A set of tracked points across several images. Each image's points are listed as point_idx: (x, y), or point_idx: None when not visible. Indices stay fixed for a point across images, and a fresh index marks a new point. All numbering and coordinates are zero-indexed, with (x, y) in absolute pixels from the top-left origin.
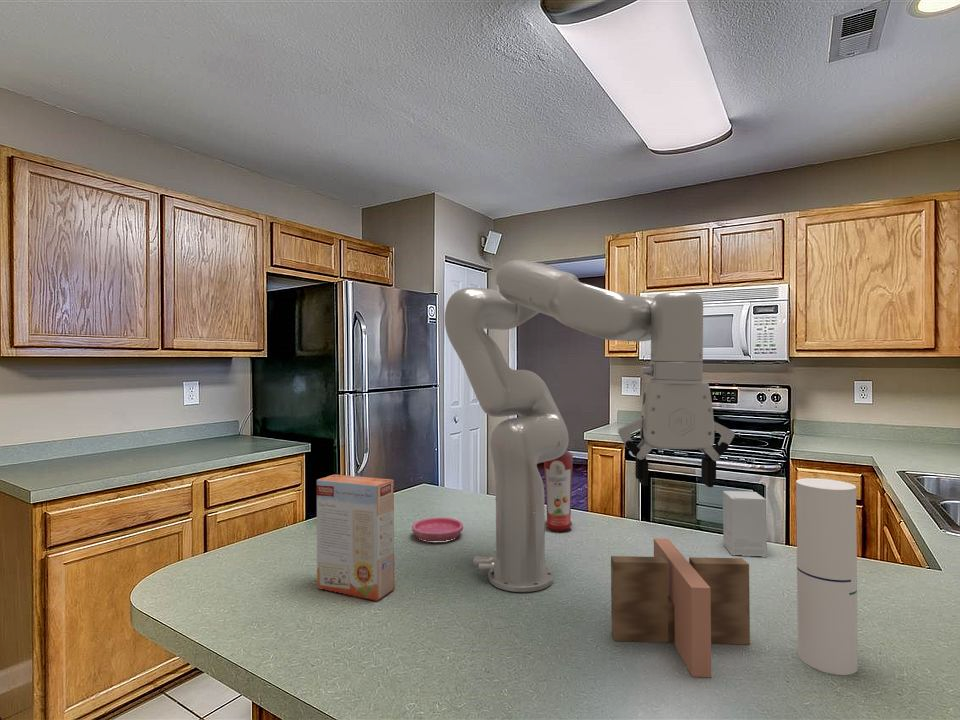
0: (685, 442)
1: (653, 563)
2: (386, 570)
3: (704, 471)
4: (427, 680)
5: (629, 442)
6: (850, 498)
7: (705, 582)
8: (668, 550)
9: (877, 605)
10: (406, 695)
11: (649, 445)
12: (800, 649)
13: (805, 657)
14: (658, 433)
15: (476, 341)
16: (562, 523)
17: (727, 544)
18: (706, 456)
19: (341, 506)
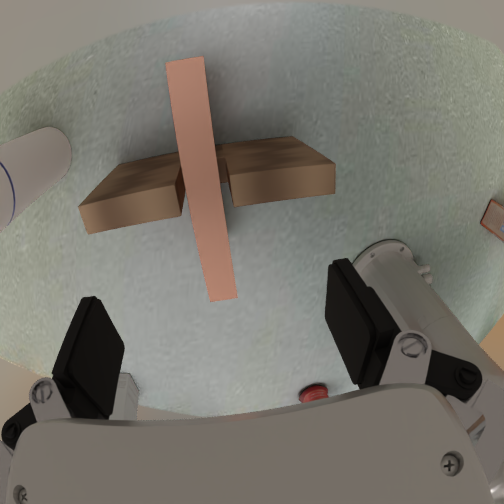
0: (168, 461)
1: (258, 171)
2: (501, 222)
3: (103, 361)
4: (459, 66)
5: (476, 383)
6: None
7: (169, 86)
8: (217, 244)
9: (8, 290)
10: (466, 49)
11: (424, 384)
12: (66, 150)
13: (65, 141)
14: (413, 477)
15: None
16: (312, 393)
17: (133, 387)
18: (83, 409)
19: None
